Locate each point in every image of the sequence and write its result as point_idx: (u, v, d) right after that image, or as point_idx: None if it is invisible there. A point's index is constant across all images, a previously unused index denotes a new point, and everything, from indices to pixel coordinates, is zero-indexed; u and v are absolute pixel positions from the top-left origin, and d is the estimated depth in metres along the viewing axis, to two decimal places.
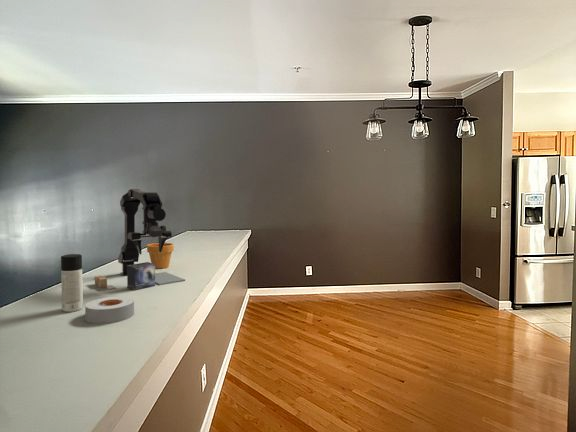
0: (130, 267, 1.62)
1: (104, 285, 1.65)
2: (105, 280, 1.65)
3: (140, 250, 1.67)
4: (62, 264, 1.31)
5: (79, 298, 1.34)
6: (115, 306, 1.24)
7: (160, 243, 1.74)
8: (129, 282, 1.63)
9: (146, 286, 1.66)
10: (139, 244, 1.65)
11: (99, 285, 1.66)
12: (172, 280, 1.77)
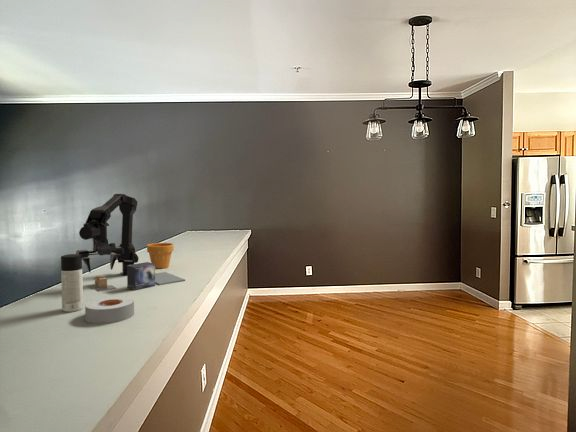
0: (130, 267, 1.62)
1: (104, 285, 1.65)
2: (105, 280, 1.65)
3: (89, 268, 1.64)
4: (62, 264, 1.31)
5: (79, 298, 1.34)
6: (115, 306, 1.24)
7: (111, 260, 1.71)
8: (129, 282, 1.63)
9: (146, 286, 1.66)
10: (88, 262, 1.63)
11: (99, 285, 1.66)
12: (172, 280, 1.77)
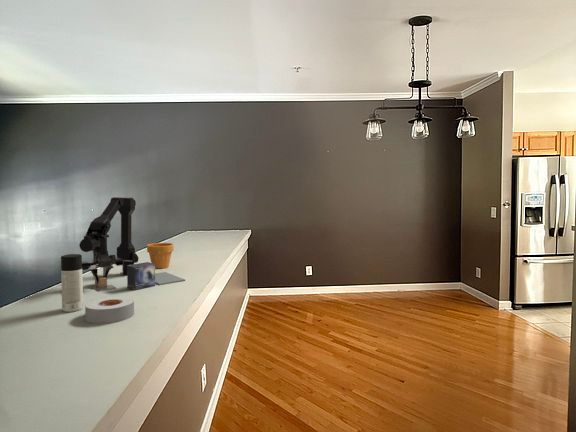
0: (130, 267, 1.62)
1: (104, 285, 1.65)
2: (105, 280, 1.65)
3: (97, 279, 1.66)
4: (62, 264, 1.31)
5: (79, 298, 1.34)
6: (115, 306, 1.24)
7: (104, 272, 1.69)
8: (129, 282, 1.63)
9: (146, 286, 1.66)
10: (95, 273, 1.65)
11: (99, 285, 1.66)
12: (172, 280, 1.77)
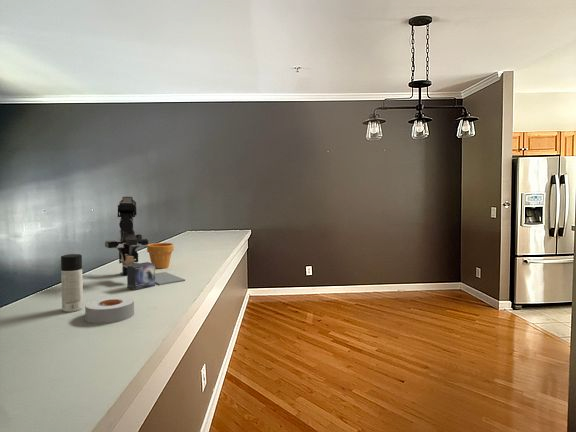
0: (130, 267, 1.62)
1: (131, 262, 1.76)
2: (132, 258, 1.76)
3: (124, 257, 1.77)
4: (62, 264, 1.31)
5: (79, 298, 1.34)
6: (115, 306, 1.24)
7: (130, 251, 1.80)
8: (129, 282, 1.63)
9: (146, 286, 1.66)
10: (123, 251, 1.76)
11: (126, 262, 1.76)
12: (172, 280, 1.77)
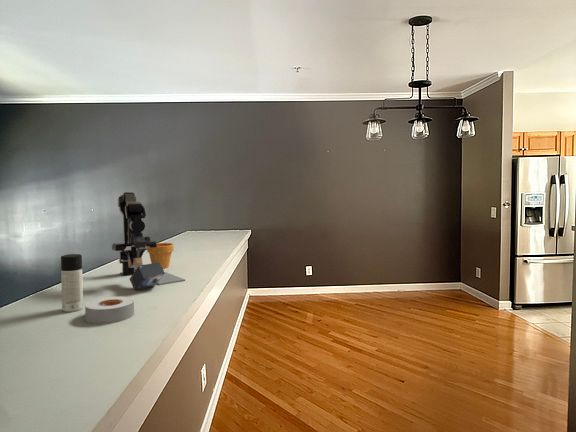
0: (140, 272, 1.57)
1: (140, 264, 1.69)
2: (140, 259, 1.69)
3: (131, 260, 1.70)
4: (62, 264, 1.31)
5: (79, 298, 1.34)
6: (115, 306, 1.24)
7: (138, 254, 1.72)
8: (133, 279, 1.61)
9: (147, 286, 1.65)
10: (130, 254, 1.69)
11: (135, 265, 1.69)
12: (172, 280, 1.77)
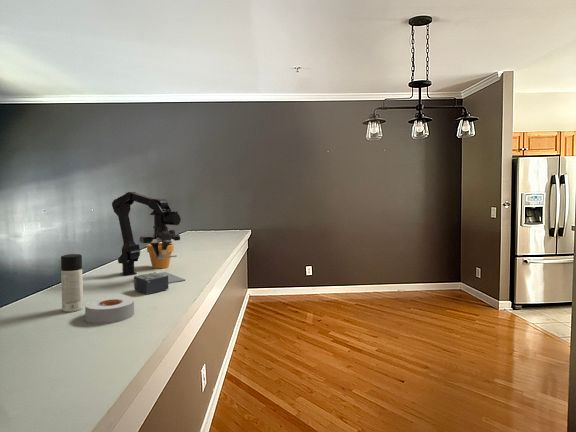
0: (146, 286, 1.55)
1: (165, 255, 1.81)
2: (165, 251, 1.81)
3: (157, 252, 1.82)
4: (62, 264, 1.31)
5: (79, 298, 1.34)
6: (115, 306, 1.24)
7: (163, 247, 1.85)
8: (137, 282, 1.59)
9: None
10: (156, 246, 1.81)
11: (160, 256, 1.81)
12: (172, 280, 1.77)
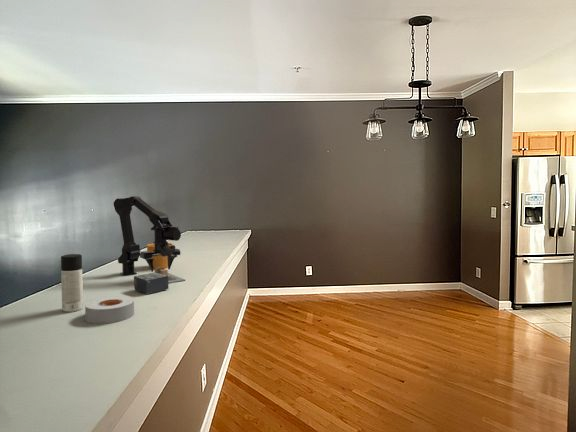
0: (146, 286, 1.55)
1: None
2: (166, 271, 1.81)
3: (152, 268, 1.80)
4: (62, 264, 1.31)
5: (79, 298, 1.34)
6: (115, 306, 1.24)
7: (169, 261, 1.87)
8: (137, 282, 1.59)
9: None
10: (151, 262, 1.79)
11: None
12: (172, 280, 1.77)
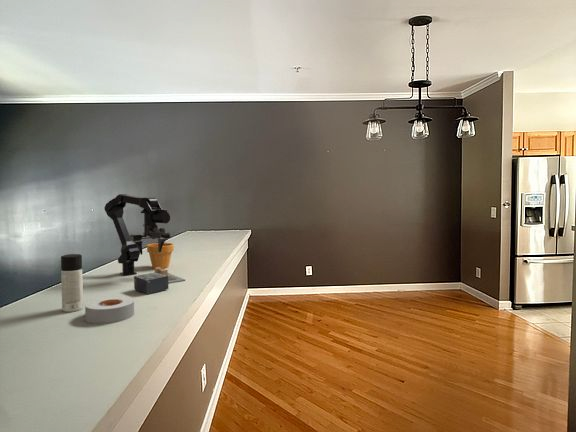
0: (146, 286, 1.55)
1: None
2: (166, 271, 1.81)
3: (141, 250, 1.81)
4: (62, 264, 1.31)
5: (79, 298, 1.34)
6: (115, 306, 1.24)
7: (159, 244, 1.88)
8: (137, 282, 1.59)
9: None
10: (140, 245, 1.80)
11: None
12: (172, 280, 1.77)
